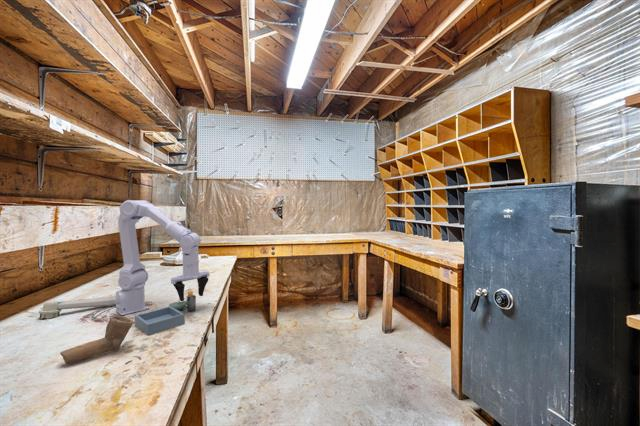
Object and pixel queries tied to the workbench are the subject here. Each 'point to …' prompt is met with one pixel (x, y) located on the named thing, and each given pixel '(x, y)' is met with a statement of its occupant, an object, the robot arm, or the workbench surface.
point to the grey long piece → (74, 305)
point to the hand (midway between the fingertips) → (191, 297)
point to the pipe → (101, 341)
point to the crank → (180, 303)
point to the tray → (159, 320)
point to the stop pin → (191, 303)
